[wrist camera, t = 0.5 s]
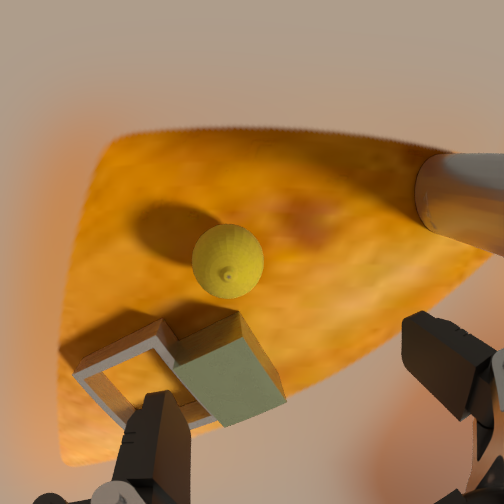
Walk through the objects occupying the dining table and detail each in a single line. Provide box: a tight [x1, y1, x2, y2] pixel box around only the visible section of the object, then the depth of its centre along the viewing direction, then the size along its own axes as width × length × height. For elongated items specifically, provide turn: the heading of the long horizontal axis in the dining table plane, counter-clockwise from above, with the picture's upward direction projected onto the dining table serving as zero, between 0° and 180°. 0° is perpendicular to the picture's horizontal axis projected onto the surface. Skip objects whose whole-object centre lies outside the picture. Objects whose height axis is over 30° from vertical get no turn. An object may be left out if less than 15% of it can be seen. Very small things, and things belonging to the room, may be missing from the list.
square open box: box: [72, 311, 287, 430], centre depth 27 cm, size 19×12×5 cm, turn 118°
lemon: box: [192, 224, 264, 299], centre depth 23 cm, size 6×6×8 cm
